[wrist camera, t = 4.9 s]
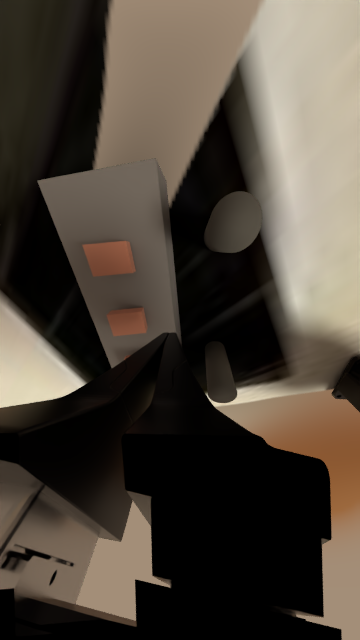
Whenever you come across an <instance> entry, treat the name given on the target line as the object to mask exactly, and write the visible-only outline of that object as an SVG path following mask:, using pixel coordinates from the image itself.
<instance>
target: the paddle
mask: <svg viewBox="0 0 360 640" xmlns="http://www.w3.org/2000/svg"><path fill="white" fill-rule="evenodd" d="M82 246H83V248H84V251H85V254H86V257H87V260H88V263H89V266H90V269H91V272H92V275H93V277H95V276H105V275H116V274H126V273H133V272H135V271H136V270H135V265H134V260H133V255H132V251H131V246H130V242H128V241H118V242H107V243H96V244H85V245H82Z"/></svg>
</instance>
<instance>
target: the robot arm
mask: <svg viewBox="0 0 360 640" xmlns="http://www.w3.org/2000/svg"><path fill="white" fill-rule="evenodd" d="M332 396H333V397H334V398H336V399H347V400H348V401H349V402H350V403H351V404H352V405H353V406H354V407H355V408H356V409H357V410H358V411H359V412H360V357H354V358H353V359H352V360H351V361H350V363H349V365H348V366H347V368H346V370H345V371H344V373H343V375H342V377H341V378H340V380H339V382H338V383H337V385H336V387H335V389H334V390H333V392H332ZM132 500H133V501H134V503H135V504H136V506H137V507H138V508H139V510H140V511H141V513H142V514H143V516H144V517H145V518H146V520H147V521H148V523H149V524H150V526H151V536H152V537H151V539H152V574H153V576H154V577H156V578H157V579H159V580H161V581H163V582H165V583H166V584H168V585H170V588H169V587H164V586H160V585H156V584H152V583H148V582H144V581H140V580H135V589H136V621H134V620H130V619H127V618H123V617H119V616H116V615H112V614H108V613H105V612H101V611H97V610H94V609H90V608H87V607H83V606H79V605H76V601H77V598H78V595H79V592H80V589H81V586H82V584H83V581H84V578H85V575H86V572H87V569H88V566H89V563H90V560H91V557H92V554H93V552H94V549H95V546H96V543H97V540H98V537H99V538H104V539H109V540H115V541H119V542H121V540H122V537H123V533H124V530H125V526H126V523H127V519H128V515H129V511H130V508H131V504H132ZM330 502H331V501H330V477H329V471H328V469H327V467H326V465H325V463H324V462H323V461H322V460H320V459H318V458H313V457H310V456H305V455H301V454H297V453H293V452H289V451H285V450H281V449H277V448H273V447H272V446H270V445H268V444H267V443H266V442H265V440H264V439H263V438H262V437H260V436H258V435H255V434H253V433H251V432H250V431H248V430H246V429H245V428H243V427H242V426H240V425H239V424H238V423H236V422H234V421H233V420H232V419H230V418H229V417H227V416H226V415H224V414H223V413H221V412H220V411H219V410H217V409H216V408H215V407H214V406H213V405H212V403H211V402H210V401H209V399H208V398H207V396H206V394H205V393H204V391H203V390H202V388H201V386H200V385H199V383H198V381H197V380H196V378H195V376H194V375H193V373H192V371H191V369H190V366H189V364H188V362H187V359H186V357H185V354H184V351H183V349H182V346H181V344H180V341H179V339H178V336H177V334H176V332H170V333H169V332H164V333H162V334H160V335H159V336H158V337H156V338H155V339H153V340H152V341H151V342H149V343H148V344H146V345H145V346H143V347H142V348H141V349H139V350H138V351H136V352H135V353H133V354H132V355H131V356H129V357H128V358H126V359H125V360H123V361H122V362H121V363H119V364H118V365H116V366H115V367H113V368H112V369H110V370H109V371H107V372H105V373H104V374H102V375H101V376H99V377H97V378H96V379H94V380H92V381H91V382H89V383H87V384H86V385H84V386H82V387H81V388H79V389H77V390H76V391H74V392H72V393H70V394H68V395H66V396H63V397H61V398H57V399H53V400H47V401H41V402H35V403H29V404H22V405H16V406H10V407H3V408H0V640H341V639H342V638H341V629H337V628H333V627H329V626H324V625H321V624H316V623H312V622H308V621H306V620H305V619H302V618H298V617H296V615H305V616H315V617H323V616H324V615H323V579H322V578H323V574H322V544H324V543H326V542H327V541H329V540H331V503H330Z"/></svg>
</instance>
